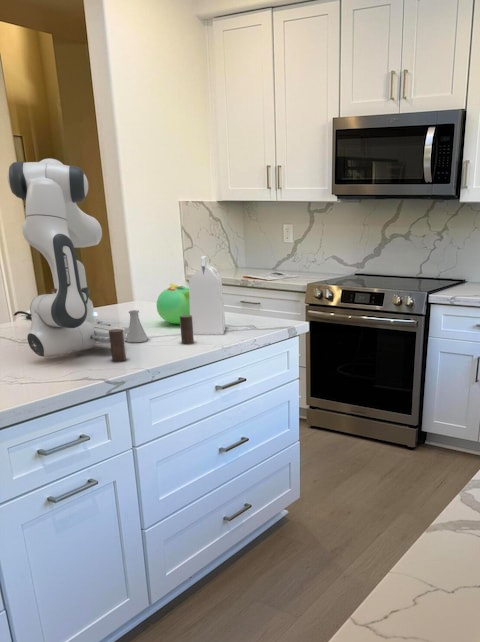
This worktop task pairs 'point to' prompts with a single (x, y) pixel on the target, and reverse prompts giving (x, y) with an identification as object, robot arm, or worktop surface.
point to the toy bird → (173, 303)
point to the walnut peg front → (117, 345)
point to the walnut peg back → (186, 329)
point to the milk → (206, 300)
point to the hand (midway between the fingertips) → (118, 327)
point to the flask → (135, 329)
